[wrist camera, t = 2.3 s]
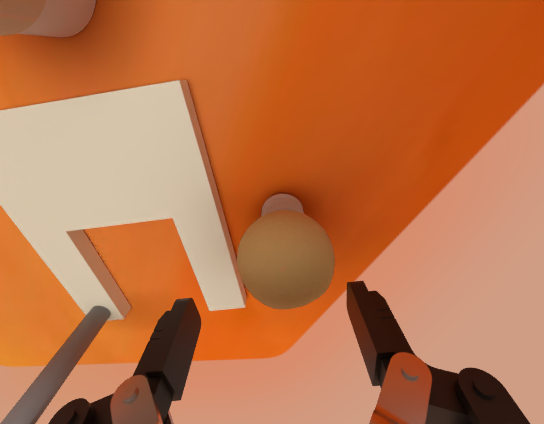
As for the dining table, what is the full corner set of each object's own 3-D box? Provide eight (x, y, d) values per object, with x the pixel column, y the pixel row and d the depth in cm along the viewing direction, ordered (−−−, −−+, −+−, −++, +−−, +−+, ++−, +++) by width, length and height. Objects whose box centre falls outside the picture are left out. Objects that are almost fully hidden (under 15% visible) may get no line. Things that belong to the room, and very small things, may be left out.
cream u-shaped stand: (186, 80, 17) (-9, 82, 5) (246, 295, 28) (226, 459, 16) (-39, 118, 19) (-600, 189, 7) (99, 310, 29) (-21, 471, 17)
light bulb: (266, 246, 24) (262, 340, 16) (234, 194, 22) (207, 273, 13) (326, 222, 23) (359, 312, 14) (300, 164, 20) (321, 229, 11)
